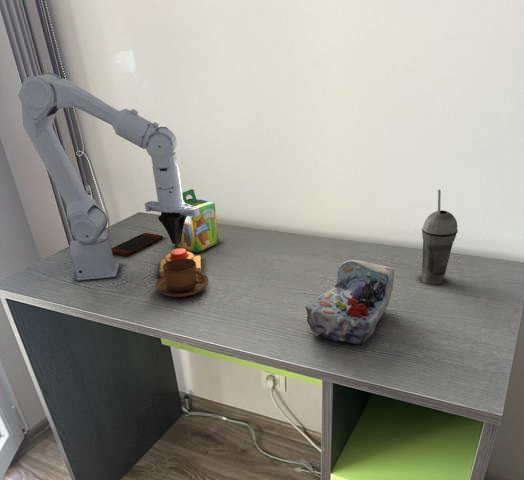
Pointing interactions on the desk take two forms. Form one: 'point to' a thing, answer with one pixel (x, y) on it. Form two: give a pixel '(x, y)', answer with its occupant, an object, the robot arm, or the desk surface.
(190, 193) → the chalk box
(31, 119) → the robot arm
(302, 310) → the desk surface
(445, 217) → the beverage cup
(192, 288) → the cup and saucer
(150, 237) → the smartphone
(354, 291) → the cell model
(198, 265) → the box
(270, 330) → the desk surface
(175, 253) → the button
